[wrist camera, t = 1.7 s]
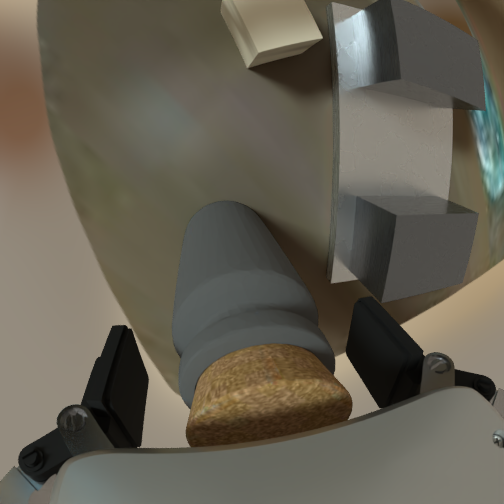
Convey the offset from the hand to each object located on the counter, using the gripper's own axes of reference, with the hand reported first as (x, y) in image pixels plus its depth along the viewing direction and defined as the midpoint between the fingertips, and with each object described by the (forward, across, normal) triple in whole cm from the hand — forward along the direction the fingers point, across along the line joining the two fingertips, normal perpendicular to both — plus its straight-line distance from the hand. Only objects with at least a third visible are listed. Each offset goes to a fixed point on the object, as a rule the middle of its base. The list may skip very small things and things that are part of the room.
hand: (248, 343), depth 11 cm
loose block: (+10, -3, -16) cm, 19 cm away
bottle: (+10, 0, -1) cm, 11 cm away
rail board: (+10, -14, -8) cm, 19 cm away
